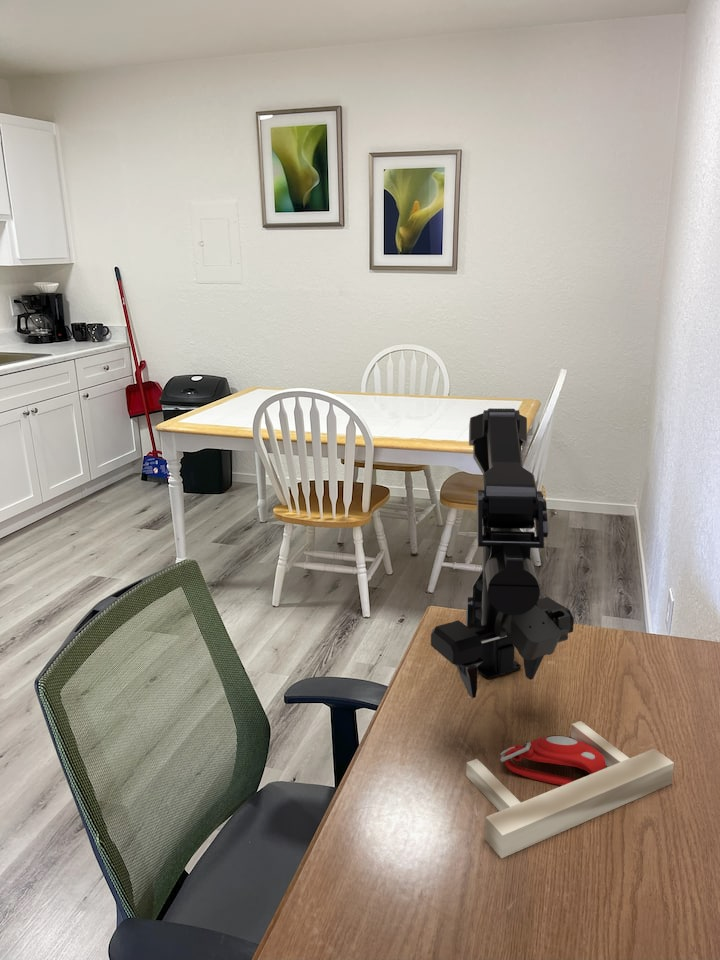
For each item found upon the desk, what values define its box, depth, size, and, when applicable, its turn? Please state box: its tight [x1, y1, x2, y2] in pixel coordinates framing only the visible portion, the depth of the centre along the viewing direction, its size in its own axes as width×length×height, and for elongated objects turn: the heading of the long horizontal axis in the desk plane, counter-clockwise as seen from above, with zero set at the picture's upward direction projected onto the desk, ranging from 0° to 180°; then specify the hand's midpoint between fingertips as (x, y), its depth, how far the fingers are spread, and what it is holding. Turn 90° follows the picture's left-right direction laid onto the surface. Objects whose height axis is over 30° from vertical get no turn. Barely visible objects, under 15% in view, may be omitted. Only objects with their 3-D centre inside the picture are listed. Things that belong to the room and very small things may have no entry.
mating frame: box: [465, 720, 675, 859], centre depth 88 cm, size 12×25×3 cm, turn 116°
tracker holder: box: [499, 734, 607, 787], centre depth 91 cm, size 12×4×10 cm
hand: (501, 687), depth 97 cm, fingers open, 9 cm apart
